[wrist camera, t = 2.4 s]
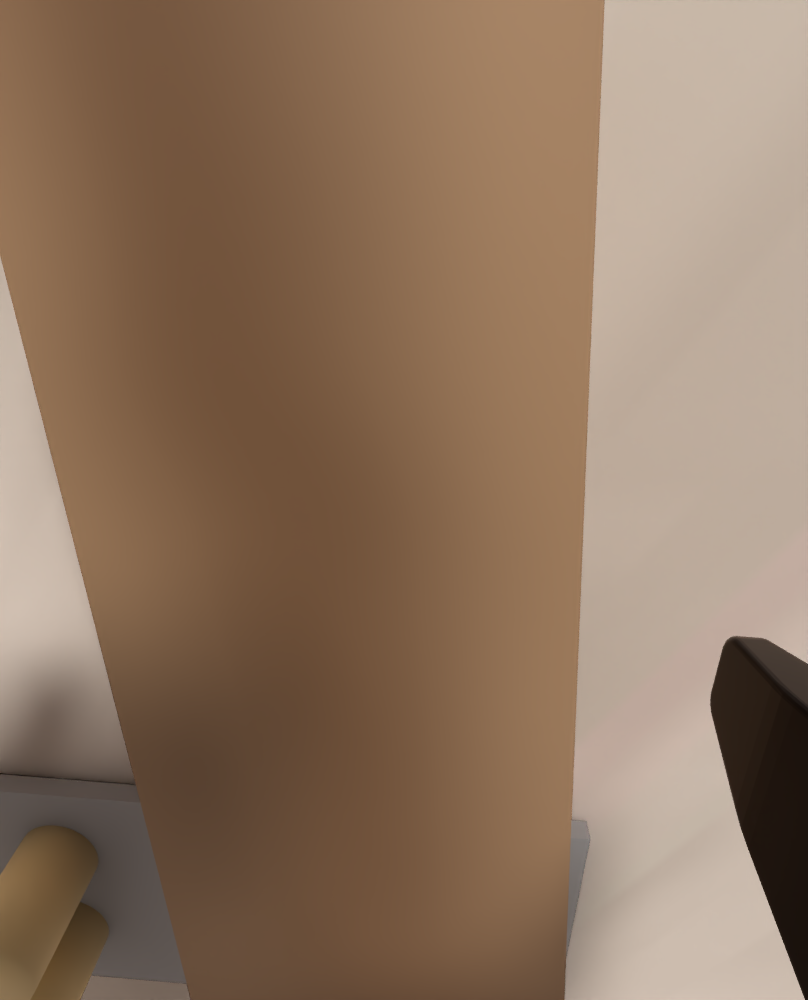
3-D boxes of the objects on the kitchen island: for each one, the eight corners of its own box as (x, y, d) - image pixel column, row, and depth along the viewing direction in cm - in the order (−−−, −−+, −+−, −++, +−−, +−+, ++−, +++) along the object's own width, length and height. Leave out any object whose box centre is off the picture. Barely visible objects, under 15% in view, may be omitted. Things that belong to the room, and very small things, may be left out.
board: (531, 24, 11) (608, -109, 6) (525, 761, 17) (562, 1048, 11) (169, 51, 12) (-78, -50, 6) (280, 763, 17) (201, 1041, 12)
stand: (586, 821, 17) (618, 971, 14) (551, 996, 20) (572, 1158, 16) (-26, 772, 18) (-132, 907, 14) (14, 949, 20) (-69, 1099, 17)
